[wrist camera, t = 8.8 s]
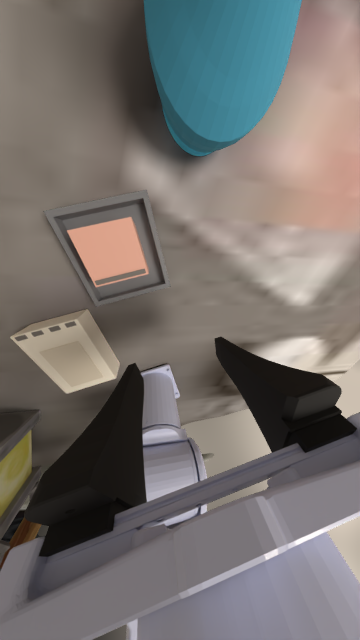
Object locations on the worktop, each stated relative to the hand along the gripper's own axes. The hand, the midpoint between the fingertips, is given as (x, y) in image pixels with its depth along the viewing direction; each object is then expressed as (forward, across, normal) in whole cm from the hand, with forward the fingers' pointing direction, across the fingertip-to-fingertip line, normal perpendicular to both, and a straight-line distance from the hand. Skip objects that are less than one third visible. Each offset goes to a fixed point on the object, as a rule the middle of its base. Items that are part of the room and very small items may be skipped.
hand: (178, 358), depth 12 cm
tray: (+9, +3, -9) cm, 13 cm away
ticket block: (+9, +13, +1) cm, 16 cm away
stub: (+9, +3, -9) cm, 13 cm away
